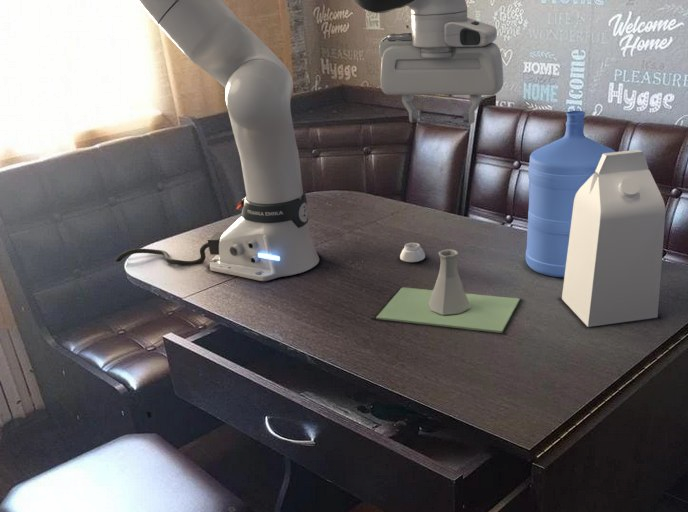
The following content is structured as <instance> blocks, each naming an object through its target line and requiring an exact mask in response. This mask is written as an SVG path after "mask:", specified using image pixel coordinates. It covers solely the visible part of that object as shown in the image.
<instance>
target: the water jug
mask: <svg viewBox="0 0 688 512" xmlns="http://www.w3.org/2000/svg"><path fill="white" fill-rule="evenodd" d="M585 115H586V112H585V111H584V110H570V111H567V112H566V122H565V133H564V136H562V137H560V138H557V139H556V140H554V141H552V142H549V143H547V144H545V145H543V146H541V147H539V148H537V149H534V150H533V151H532V152H531V154H530V155H529V164H528V173H527V175H528V212H527V229H526V230H527V231H526V249H525V263H526V264H527V266H528V267H529V268H530V269H531V270H533V271H534V272H536V273H539V274H541V275H544V276H547V277H552V278H553V277H554V278H560V279H561V278H563V279H564V277H565V269H566V261H567V253H568V245H569V237H570V229H571V221H572V213H573V204H574V198H575V195H576V193H577V191H578V190H579V189H580V188H581V187H582V185H583V184H584V183H585V182H586V181H587V180H588V179H589V178H590V177H591V176H592V175H593V174H594V173H595V170H596V168H597V166H598V164H599V161H600V159H601V157H602V154H603V153H612V152H616V150H614V149H612V148H611V147H609V146H607V145H605V144H602V143H600V142H598V141H595V140H594V139H591V138H589V137H587V136H585V133H584V129H585V128H584V127H585V122H586V121H585Z"/></svg>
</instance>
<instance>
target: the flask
mask: <svg viewBox="0 0 688 512" xmlns="http://www.w3.org/2000/svg"><path fill="white" fill-rule="evenodd" d="M438 256H439V258H440V265H439V269H438V270H439V271H438V274H437V278H436V281H435V283H434V286H433V289H432V290H433V292H432V295H431V297H430V300H429V303H428V304H429V307H430V310H431V311H434V312H437V313H439V314H442V315H447V314H458V313H461V312H463V311H465V310H467V309H469V308H471V307H470V304H469V302H468V299H467V297H466V294H465V293H466V292H465V289H464V286H463V284H462V280H461V278H460V275H459V269H458V266H457V265H458V264H457V263H458V262H457V258H458V257H459V252H458V251H457V250H455V249H453V248H452V249H451V248H449V249H443V250H440V251H438Z"/></svg>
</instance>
